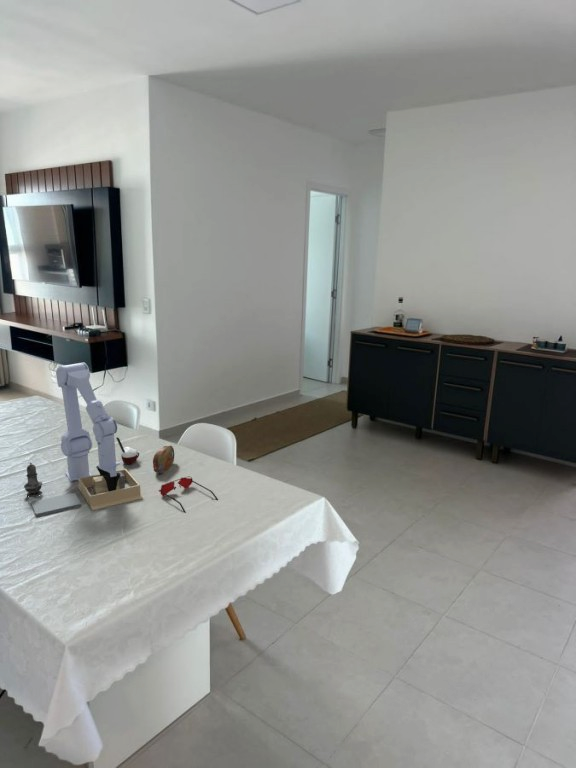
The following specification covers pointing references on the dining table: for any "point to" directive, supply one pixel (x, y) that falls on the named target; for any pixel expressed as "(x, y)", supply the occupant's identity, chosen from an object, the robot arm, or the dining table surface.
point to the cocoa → (128, 454)
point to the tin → (163, 459)
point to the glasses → (184, 483)
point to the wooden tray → (110, 492)
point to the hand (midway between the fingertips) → (109, 488)
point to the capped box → (101, 484)
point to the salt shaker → (32, 482)
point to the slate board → (55, 504)
